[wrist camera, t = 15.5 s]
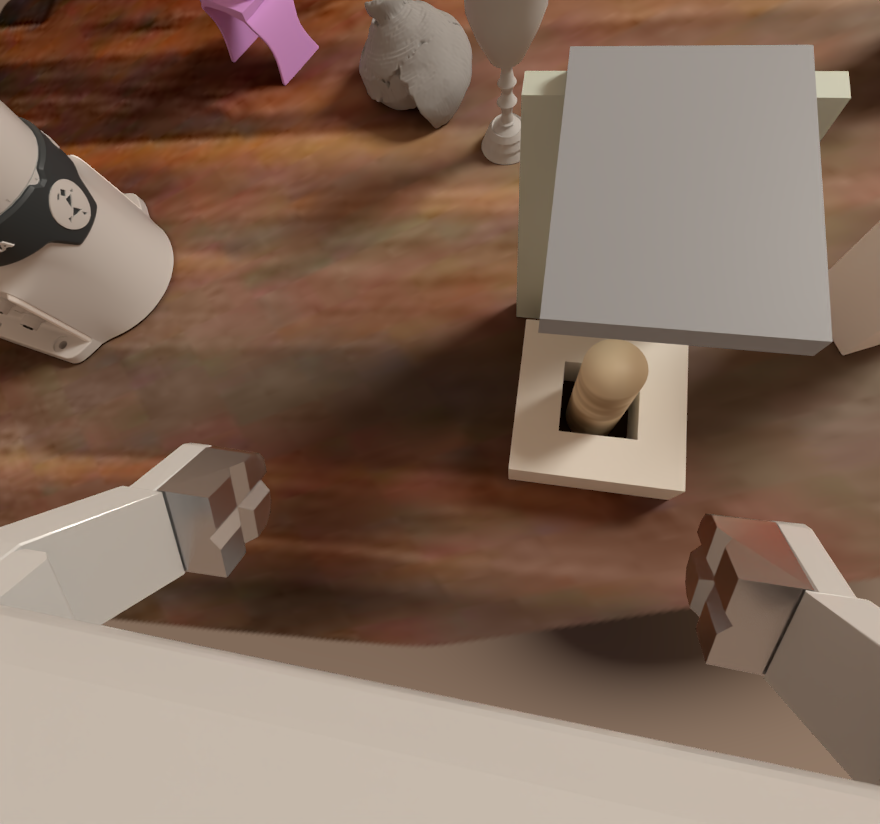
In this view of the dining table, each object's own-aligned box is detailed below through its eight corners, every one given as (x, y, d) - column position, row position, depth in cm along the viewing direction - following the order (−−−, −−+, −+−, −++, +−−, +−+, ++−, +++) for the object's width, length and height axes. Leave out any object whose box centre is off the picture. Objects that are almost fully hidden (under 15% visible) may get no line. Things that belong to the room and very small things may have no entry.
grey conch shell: (364, 144, 57) (305, 52, 48) (400, 64, 60) (350, -37, 51) (461, 134, 51) (415, 27, 42) (495, 46, 54) (458, -71, 45)
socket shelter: (495, 477, 41) (480, 362, 19) (518, 301, 46) (525, 46, 24) (682, 501, 39) (903, 402, 17) (686, 314, 43) (866, 44, 22)
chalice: (488, 183, 50) (477, -20, 33) (459, 135, 52) (434, -79, 35) (557, 152, 50) (581, -67, 33) (525, 105, 52) (532, -122, 35)
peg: (563, 436, 42) (579, 394, 32) (567, 389, 43) (584, 336, 33) (615, 442, 41) (647, 401, 32) (618, 394, 42) (649, 341, 33)
